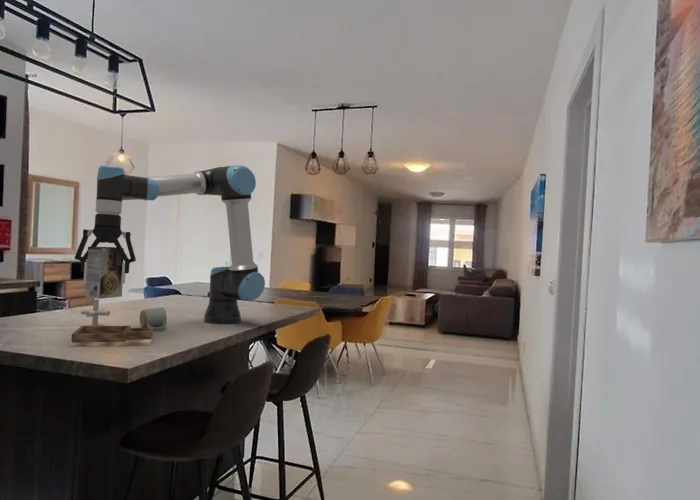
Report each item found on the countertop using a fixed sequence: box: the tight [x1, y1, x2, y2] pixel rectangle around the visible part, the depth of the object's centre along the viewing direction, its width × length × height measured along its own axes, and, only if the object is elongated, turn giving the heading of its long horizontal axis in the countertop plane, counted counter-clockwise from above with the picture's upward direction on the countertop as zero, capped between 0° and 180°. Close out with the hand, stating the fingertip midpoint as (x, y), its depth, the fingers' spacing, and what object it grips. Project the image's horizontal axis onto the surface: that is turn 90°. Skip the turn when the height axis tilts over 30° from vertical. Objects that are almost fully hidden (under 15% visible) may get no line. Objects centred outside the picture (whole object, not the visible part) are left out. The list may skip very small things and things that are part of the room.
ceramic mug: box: [139, 307, 168, 332], centre depth 187 cm, size 11×8×8 cm
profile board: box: [68, 325, 155, 347], centre depth 162 cm, size 23×17×4 cm
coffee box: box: [84, 246, 125, 300], centre depth 161 cm, size 9×6×16 cm
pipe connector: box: [80, 298, 111, 326], centre depth 186 cm, size 10×10×10 cm
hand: (104, 282), depth 161 cm, fingers closed on coffee box, 10 cm apart
